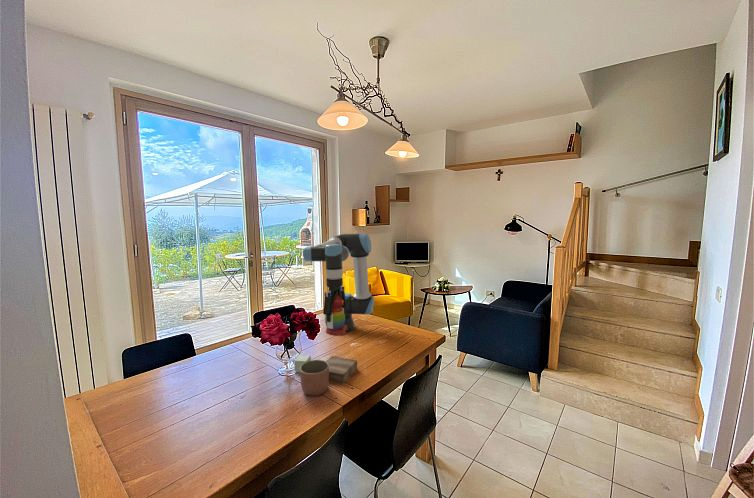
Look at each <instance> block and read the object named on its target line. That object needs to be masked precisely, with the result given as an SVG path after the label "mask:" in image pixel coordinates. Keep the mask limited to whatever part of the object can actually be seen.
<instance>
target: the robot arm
mask: <svg viewBox="0 0 754 498" xmlns="http://www.w3.org/2000/svg"><path fill="white" fill-rule="evenodd" d="M371 252H372V242H371V238H370V236H369V235H368V234H367V233H343V234H341V233H340V234H338V235H334V236H332V237H329V239H328V240H327V241H324V242H322V243H319V244H317V245H314V246H311V245H310V246H309V245H308V246H304V248H303V250H302V258H303V260H304V262H325V275H326V277H325V278H326V279H325V280H326V281H325V283H326V287H328V291H327V292H324V303H323V312H322V314H323V315H324V316H325V315H326V316H327V327H326V329H327V328H330V329H333V314H332V309H333V305H334V300H336V296H340V298H341V299H343V301H344V303H343V305H342V308H343V310H344V314H345V323H344V325H347V326H348V329H347V330H345V331H346V333H348V332H351V331H354V330H355V329H356V325H355V321H354V318H353V316H352V315H363V316H365V315H371V314H372V313H373V311H374V305H375V297H374V296H372V293H371V292H370V291H369V290H370V289H369V273H368V259H367V258H368V256H369V255H370V253H371ZM349 256H350V257H351V258H352V261H353V262H352V263H353V274H354V275H353V277H354V290H355V291H354V292H355V293H353V295H352V293H350V292H345V286H343V285H344V282H343V279H344V278H343V275H344V274H343V262H344V261H346V260H347V259H348V258H349ZM332 297H334V298H332Z"/></svg>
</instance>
